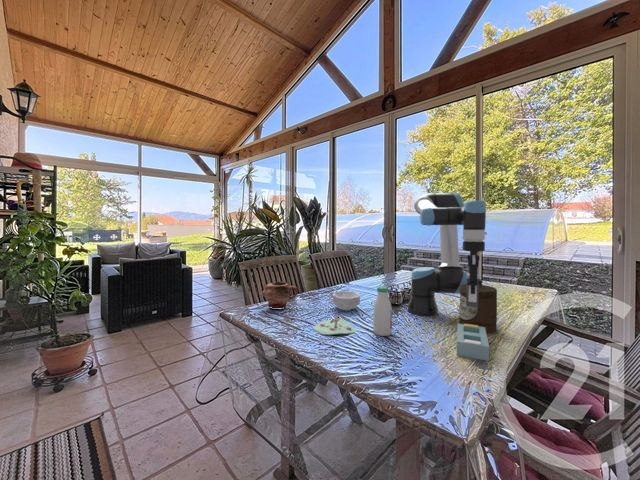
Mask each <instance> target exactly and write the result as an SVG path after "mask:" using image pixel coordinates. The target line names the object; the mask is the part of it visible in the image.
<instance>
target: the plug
mask: <svg viewBox="0 0 640 480" xmlns="http://www.w3.org/2000/svg"><path fill="white" fill-rule="evenodd" d="M469 279H470V274H469V273H467V283H469ZM479 279H480V274H479V273H477V302H469V285H467V297H466V306H469V307H478V297H479Z"/></svg>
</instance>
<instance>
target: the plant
mask: <svg viewBox="0 0 640 480" xmlns="http://www.w3.org/2000/svg"><path fill="white" fill-rule="evenodd" d="M338 310H339V309H338ZM338 310H337V309H336V312H334V318H335V319H332V320H328V321H324V322H322V321H321V322H322V323H320V322H319V323H320V324H318V323H317V324H318V325H316V324H315V325H316V326H315V325H314V326H315V327H314V326H313V328H312V329H313V331H314V332H315V331H316V333H317V334H320V335H324V336H325V335H326V336H331V335H332V336H334V335H349V334H350V335H351V334H355V333H356V332H357V331H356V330H355V329H354V328H353V327H352V326H351V325H350V324H349V323H348V322H346V321H344V320H343V319H344V318H342V317H343V316H341V315H340V314H339V311H338ZM340 316H341V318H342V319H341V318H338V319H337V317H340ZM355 331H356V332H355ZM354 332H355V333H354Z"/></svg>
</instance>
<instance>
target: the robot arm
mask: <svg viewBox="0 0 640 480" xmlns="http://www.w3.org/2000/svg"><path fill="white" fill-rule="evenodd" d="M462 197H463V196H461V195H460V193H457V192H445V193H444V192H440V193H439V192H438V193H426V194H424V195H421V196H420V197H418V198H417V199H416V200H415V202H414V210H415V212H416V213H417V214H419V221H420V224H421V226H439V235H440V236H439V237H440V239H439V240H440V242H439V243H440V261H441V264H440V265H438V267H437V268H438V269H436V268H435V267H433V266H424V267H423V266H422V267H416V268H414V269H412V271H411V276H410V279H411V287H410V288H411V289H410V291H411V294H410V298H409V301H408V304H407V312H408V313H410V314H413V315H415V316H423V317H424V316H426V317H427V316H428V317H431V316H436V315H438V313H439V309H438V304H437V302H436V298H435V297H436V296H435V294H460V286H461V285H465V284H467V285H469V302H477V274H478V268H479V261H480V255H478V252H485V249H486V248H485V247H486V245H485V244H486V242H485V239H486V235H488V233H487V232H486V220H487V219H486V214H487V203H486V201H485V200H481V199H479V200H477V199H476V200H466V201H463V198H462ZM458 226H463V228H462V229H463V230H462V240H463V242H462V250H463V251H465V252H469V254H467V262H468V263H467V267H468V273H467V271H465V270H464V269H463V267H464V266H462V265H461V264H460V256H459V255H460V253H459V235H458V234H459V233H458ZM467 274H470V279H469V283H467Z"/></svg>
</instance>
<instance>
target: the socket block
mask: <svg viewBox="0 0 640 480" xmlns="http://www.w3.org/2000/svg"><path fill="white" fill-rule="evenodd" d="M456 329H457V330H456V331H457V333H456V356H459V357H465V358H470V359H476V360H481V361H487V362H489V361H490V344H489V340H488V339H489V338H488V335H487V334H488V333H486V330H485V327H480V326H478V325H471V324H459V323H457V328H456Z"/></svg>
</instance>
